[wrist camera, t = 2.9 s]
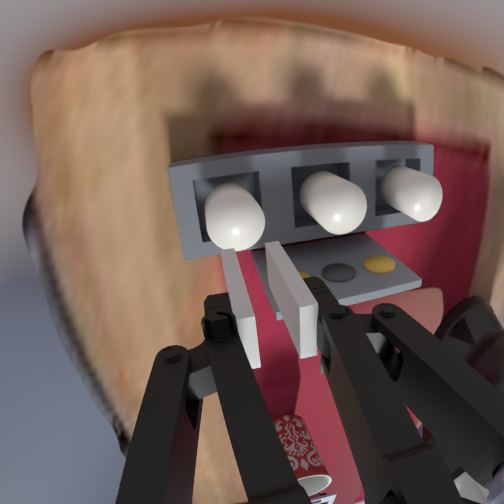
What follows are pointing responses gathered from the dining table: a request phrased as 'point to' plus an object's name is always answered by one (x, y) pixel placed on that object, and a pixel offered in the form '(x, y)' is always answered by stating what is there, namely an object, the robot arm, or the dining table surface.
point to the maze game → (322, 498)
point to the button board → (290, 187)
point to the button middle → (333, 202)
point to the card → (345, 269)
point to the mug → (302, 453)
